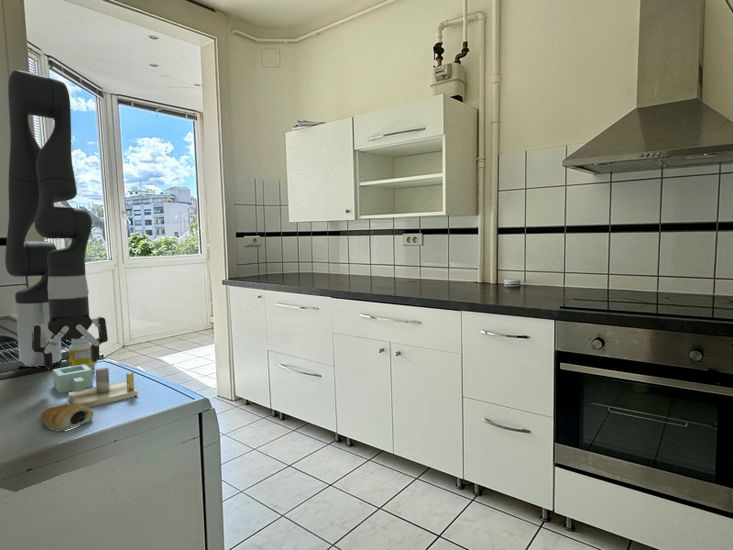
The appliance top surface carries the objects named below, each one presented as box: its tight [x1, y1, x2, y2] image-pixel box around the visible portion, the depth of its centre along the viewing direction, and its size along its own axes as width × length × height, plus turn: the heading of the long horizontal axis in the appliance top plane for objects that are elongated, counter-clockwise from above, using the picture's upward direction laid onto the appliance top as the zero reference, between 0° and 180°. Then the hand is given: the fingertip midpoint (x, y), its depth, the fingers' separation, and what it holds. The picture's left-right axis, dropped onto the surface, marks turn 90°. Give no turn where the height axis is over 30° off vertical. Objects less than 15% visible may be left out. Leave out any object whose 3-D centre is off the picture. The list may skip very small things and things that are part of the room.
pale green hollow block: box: [52, 364, 94, 394], centre depth 99 cm, size 10×6×4 cm, turn 45°
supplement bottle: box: [68, 337, 96, 374], centre depth 110 cm, size 5×5×10 cm
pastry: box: [40, 403, 94, 432], centre depth 81 cm, size 9×7×4 cm
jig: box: [67, 367, 138, 408], centre depth 94 cm, size 9×11×6 cm
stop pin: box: [125, 372, 135, 391], centre depth 95 cm, size 1×1×4 cm
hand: (72, 365), depth 100 cm, fingers open, 8 cm apart
